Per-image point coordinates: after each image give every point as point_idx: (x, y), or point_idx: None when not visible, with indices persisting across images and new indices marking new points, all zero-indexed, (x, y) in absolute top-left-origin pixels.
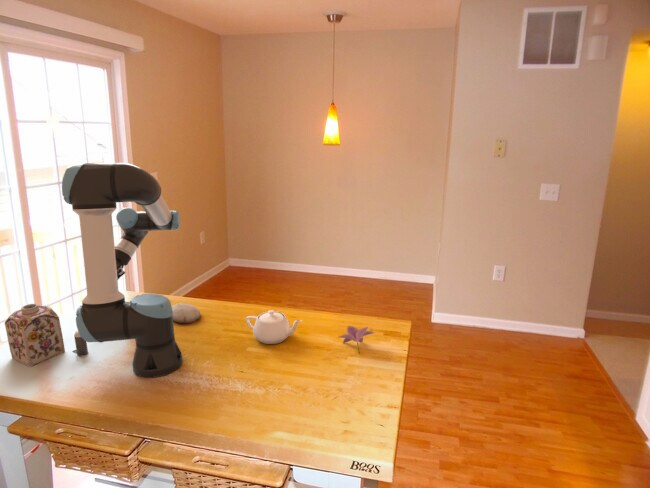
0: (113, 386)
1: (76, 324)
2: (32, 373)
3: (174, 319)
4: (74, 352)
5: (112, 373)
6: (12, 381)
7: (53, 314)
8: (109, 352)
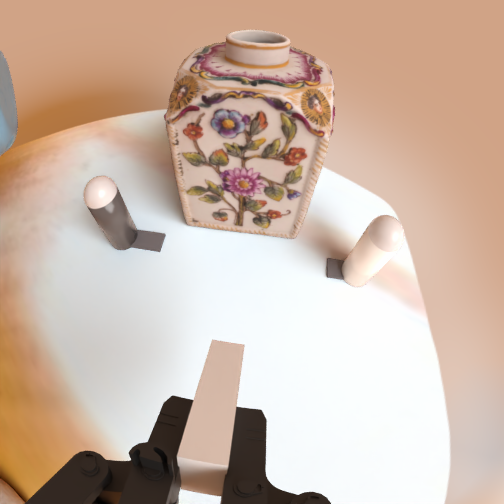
0: (11, 183)
1: (8, 68)
2: None
3: (2, 483)
4: (154, 233)
5: (21, 206)
6: None
7: (175, 96)
8: (58, 269)
